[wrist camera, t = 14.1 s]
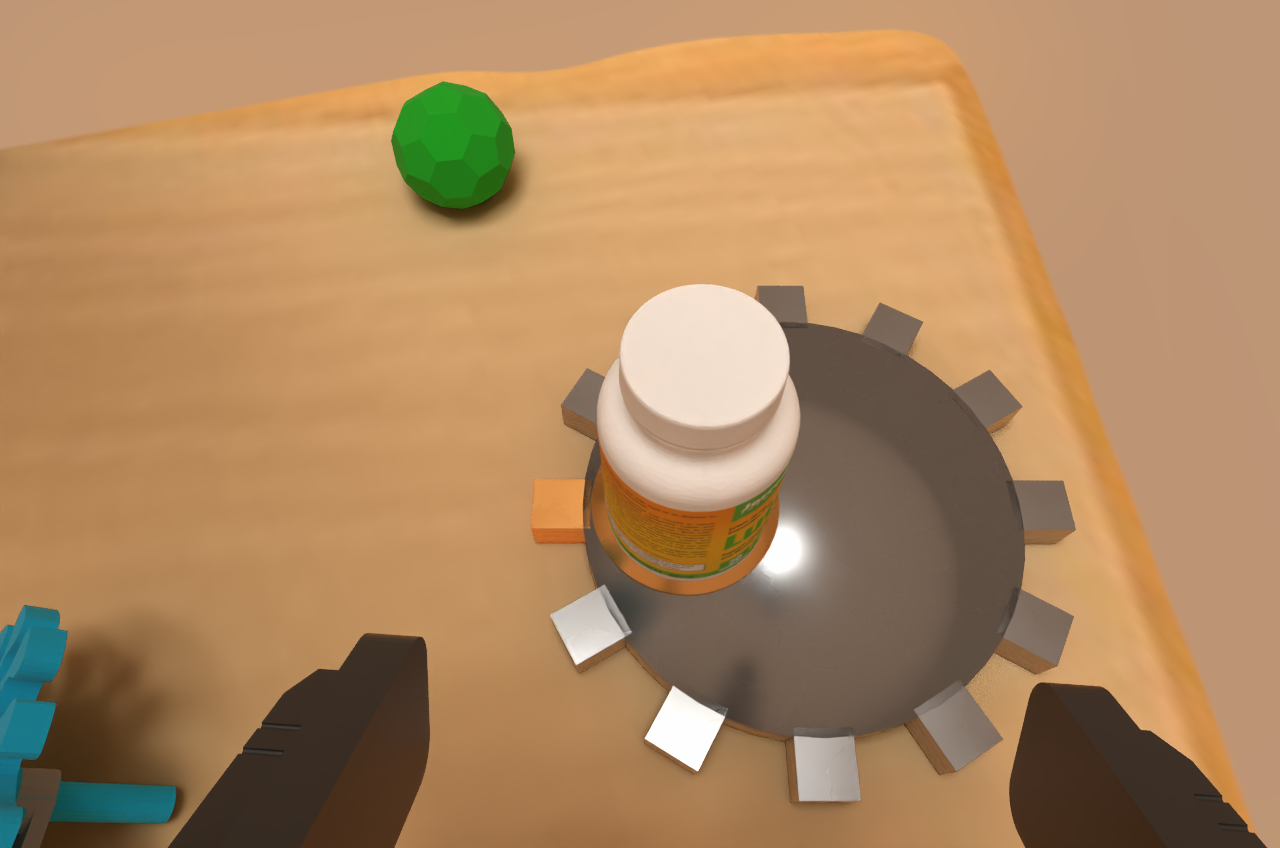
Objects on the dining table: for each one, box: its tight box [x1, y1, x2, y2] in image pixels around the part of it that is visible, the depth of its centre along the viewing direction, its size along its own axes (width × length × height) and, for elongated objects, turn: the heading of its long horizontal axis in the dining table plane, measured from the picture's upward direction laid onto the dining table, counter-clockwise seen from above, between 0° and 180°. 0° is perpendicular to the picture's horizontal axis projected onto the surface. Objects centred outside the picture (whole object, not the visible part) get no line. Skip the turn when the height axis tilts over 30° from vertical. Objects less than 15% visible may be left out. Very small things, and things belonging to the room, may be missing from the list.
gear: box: [0, 605, 176, 848], centre depth 22 cm, size 11×6×10 cm
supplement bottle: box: [597, 284, 800, 581], centre depth 23 cm, size 5×5×10 cm
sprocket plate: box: [531, 286, 1076, 802], centre depth 28 cm, size 18×18×2 cm
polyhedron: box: [391, 82, 515, 209], centre depth 34 cm, size 5×5×5 cm
